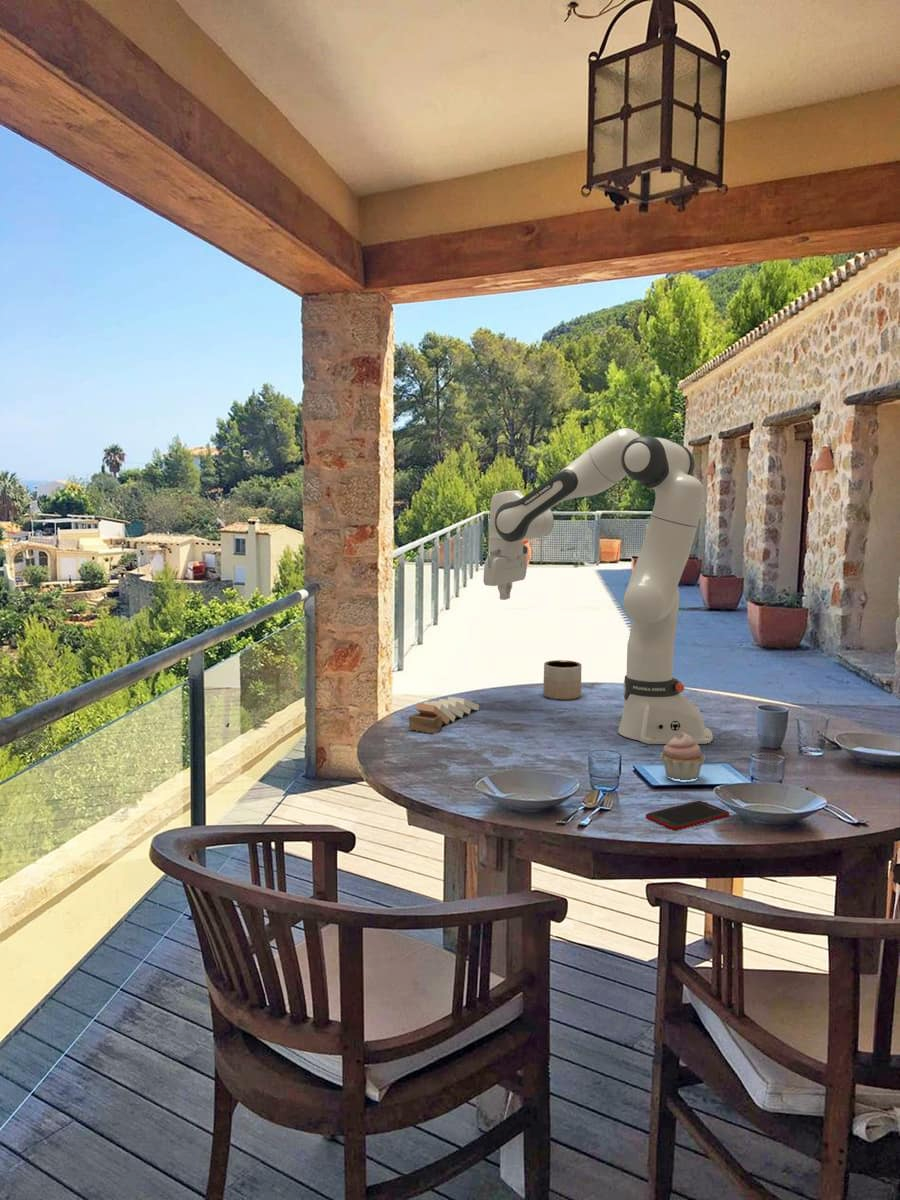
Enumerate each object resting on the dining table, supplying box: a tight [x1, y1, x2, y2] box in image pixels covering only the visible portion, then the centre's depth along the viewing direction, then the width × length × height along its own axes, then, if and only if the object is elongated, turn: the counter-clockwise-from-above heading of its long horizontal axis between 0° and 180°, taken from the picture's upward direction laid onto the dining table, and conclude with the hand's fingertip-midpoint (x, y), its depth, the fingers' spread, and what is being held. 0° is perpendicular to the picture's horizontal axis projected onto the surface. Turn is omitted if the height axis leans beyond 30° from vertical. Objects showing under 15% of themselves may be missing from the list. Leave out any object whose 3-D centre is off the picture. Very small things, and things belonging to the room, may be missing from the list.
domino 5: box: [446, 696, 480, 712], centre depth 240 cm, size 2×5×9 cm
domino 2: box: [423, 700, 457, 723], centre depth 228 cm, size 2×5×9 cm
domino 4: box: [438, 698, 472, 716], centre depth 236 cm, size 2×5×9 cm
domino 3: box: [431, 700, 464, 719], centre depth 232 cm, size 2×5×9 cm
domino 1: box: [415, 702, 450, 726], centre depth 226 cm, size 2×5×9 cm
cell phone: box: [645, 800, 730, 831], centre depth 166 cm, size 8×15×1 cm, turn 121°
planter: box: [542, 659, 582, 701], centre depth 259 cm, size 11×11×10 cm
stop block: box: [408, 712, 443, 735], centre depth 223 cm, size 4×7×4 cm, turn 61°
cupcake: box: [659, 732, 706, 780], centre depth 187 cm, size 9×9×10 cm
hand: (504, 599), depth 248 cm, fingers closed
